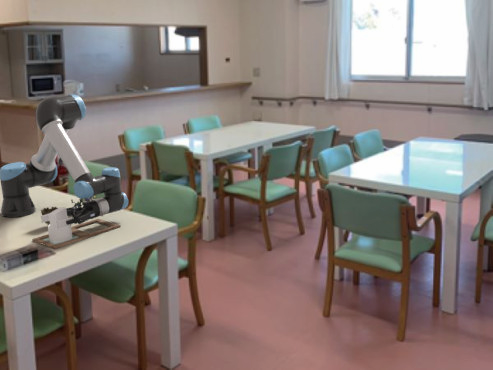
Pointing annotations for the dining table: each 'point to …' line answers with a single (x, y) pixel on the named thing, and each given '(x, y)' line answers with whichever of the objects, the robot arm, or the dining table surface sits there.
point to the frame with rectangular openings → (76, 234)
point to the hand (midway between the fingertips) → (49, 222)
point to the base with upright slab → (53, 230)
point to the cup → (47, 211)
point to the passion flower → (83, 201)
